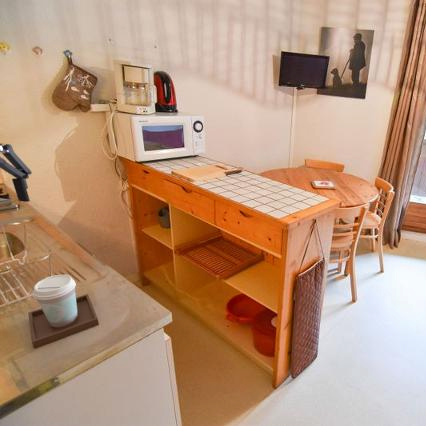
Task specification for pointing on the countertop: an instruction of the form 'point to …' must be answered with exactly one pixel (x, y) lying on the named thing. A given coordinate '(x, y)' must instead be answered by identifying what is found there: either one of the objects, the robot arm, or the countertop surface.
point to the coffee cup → (57, 299)
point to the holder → (47, 334)
